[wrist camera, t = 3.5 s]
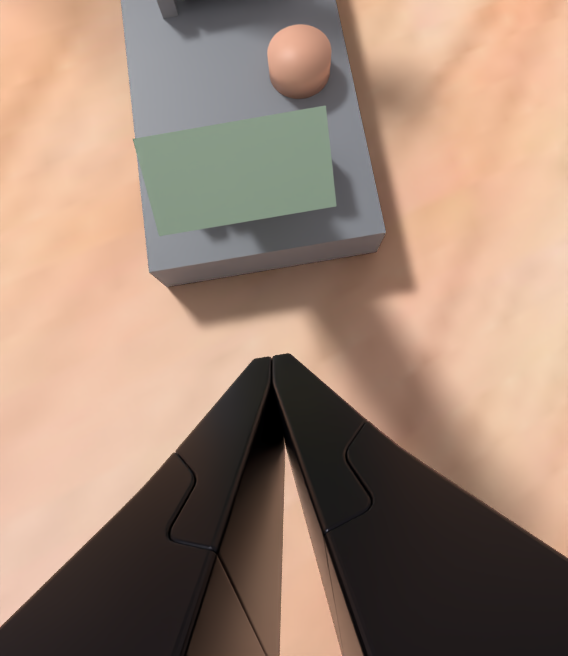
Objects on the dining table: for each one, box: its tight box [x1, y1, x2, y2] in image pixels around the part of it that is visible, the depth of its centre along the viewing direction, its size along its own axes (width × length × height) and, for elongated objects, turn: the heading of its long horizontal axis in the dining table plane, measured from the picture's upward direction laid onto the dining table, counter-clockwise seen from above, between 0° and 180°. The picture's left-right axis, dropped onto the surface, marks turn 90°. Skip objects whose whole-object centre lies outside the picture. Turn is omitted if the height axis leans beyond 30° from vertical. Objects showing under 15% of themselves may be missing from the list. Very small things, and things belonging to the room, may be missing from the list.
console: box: [121, 0, 386, 287], centre depth 21 cm, size 20×11×4 cm, turn 9°
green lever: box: [133, 106, 336, 236], centre depth 14 cm, size 2×4×12 cm
